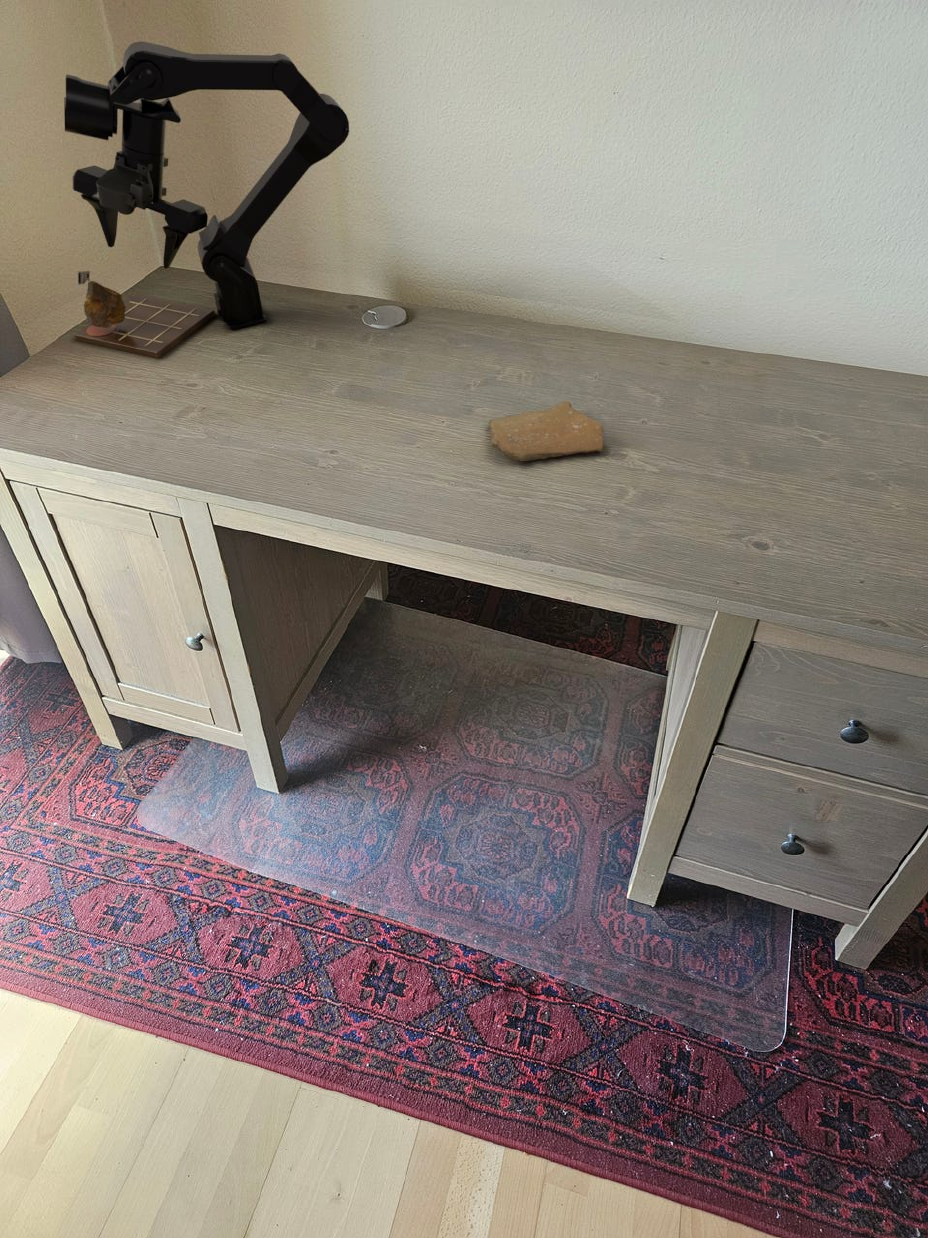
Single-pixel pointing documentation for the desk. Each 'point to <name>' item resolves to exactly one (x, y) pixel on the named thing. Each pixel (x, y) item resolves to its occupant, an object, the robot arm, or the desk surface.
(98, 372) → the desk surface
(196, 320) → the board
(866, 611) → the desk surface
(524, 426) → the stone
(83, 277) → the rock
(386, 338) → the desk surface
